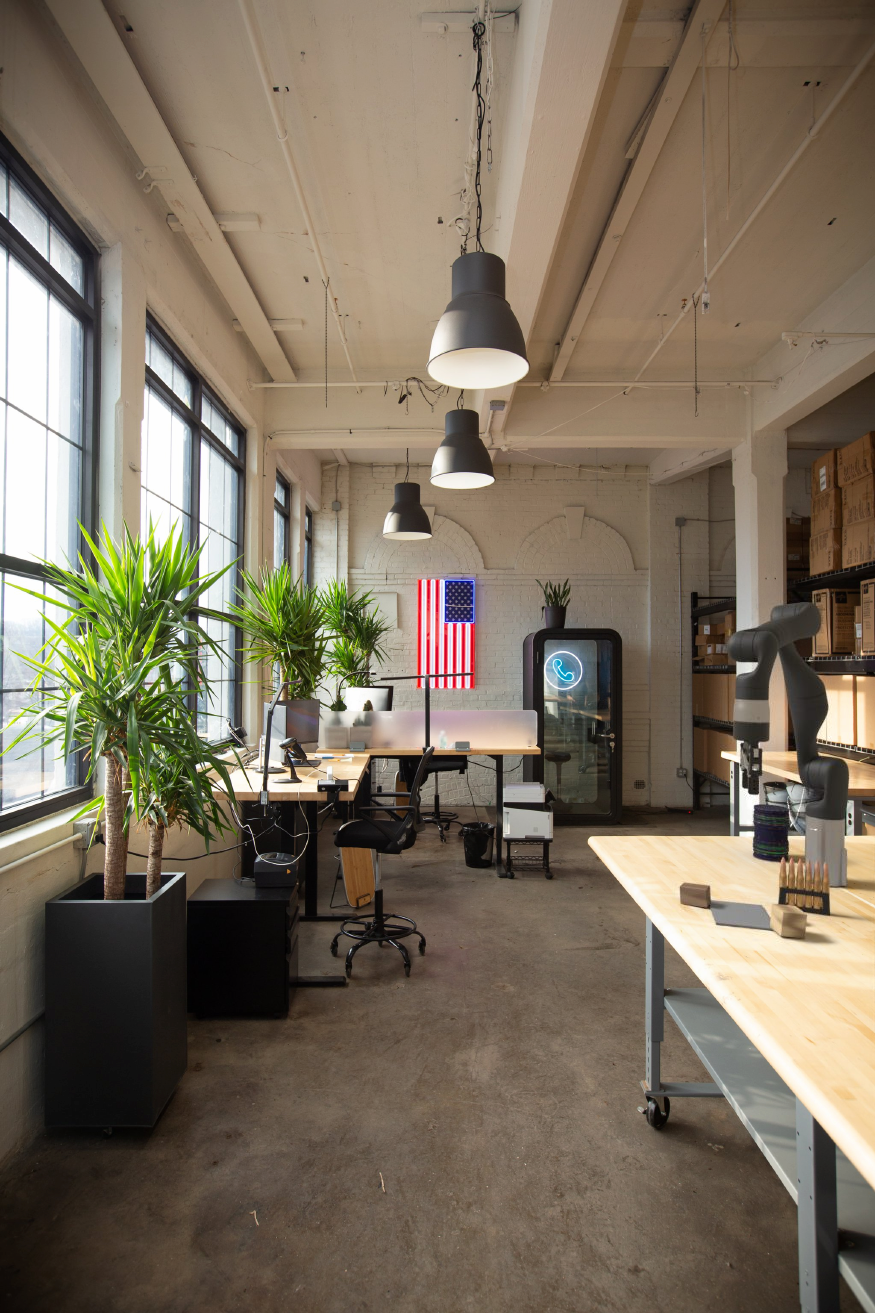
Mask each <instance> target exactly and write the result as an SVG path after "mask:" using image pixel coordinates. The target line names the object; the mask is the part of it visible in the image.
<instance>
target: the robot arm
mask: <svg viewBox="0 0 875 1313" xmlns="http://www.w3.org/2000/svg"><path fill="white" fill-rule="evenodd" d="M769 616H770V620H769V621H766V622H764V623H762V624H760V625H758V626H757V627H756V626H755V627H751V628H747V629H746V628H745V629H742V630H738V631H735V632H734V633H733V634H732V635H731V636H730V637H729V639H728V641H727V644H726V651H727V654H728V656H729V658H730V659H731V660H733V661H734V662H738V663H757V665H756V667H755V668H754V670H752V671H749V672H744V673H743V672H742V673H740V674H738V675H737V676H736V677H735V680H734V683H735V684H734V688H735V689H734V693H735V694H734V703H733V704H734V705H733V724H732V726H733V729H732V730H733V732H732V738H733V739H734V740H735V741H739V742H740V744H739V745H740V746H739V747H740V750H739V754H740V755H739V768H740V771H741V772H742V773H741V787H742V789H744V790H745V789H746V790H747V794H749V795H750V796H751V795H753V796H758V795H759V794H760V778H761V777H762V776H763V773H764V772H763V752H764V751H763V748H762V747H761V748H760V745H759V743H766V742H769V741H770V735H771V734H770V732H771V730H770V725H771V722H770V721H771V717H770V716H771V712H770V711H771V709H770V701H769V700H770V699H769V698H770V680H771V675H772V672H773V668H774V665H775V662H776V659H777V656H779V660H780V664H781V669H782V673H783V674H782V676H783V680H784V686H785V692H786V698H787V703H788V708H789V712H790V717H791V721H792V727H793V734H794V739H795V748H796V749H795V750H796V751H795V752H796V761H797V771H798V775H799V780H800V781H801V784H802V785H803V786H804V787H806V788H808V789H811V790H817V791H823V792H824V794H823V798H822V799H821V800H819V801H816V802H815V801H813V802H809V803H807V804H806V806H805V822H804V823H805V825H804V826H805V828H804V833H805V834H804V870H803V873H804V875H805V874H806V865H807V861H808V860H810V863H811V868H812V879H813V878H814V868H815V864H816V861H818V862H819V866H820V878H821V886H822V876H823V867H824V863H825V862H827V864H828V870H829V881H830V887H847V886H848V885H847V881H848V879H847V878H848V871H847V870H848V849H847V848H845V845H846V844H845V840H846V838H845V836H846V835H845V834H846V812H847V807H848V803H849V802H848V800H849V798H848V796H849V788H850V787H849V786H850V784H849V783H850V769H849V766H848V764H847V762H846V760H844V759H843V758H839V757H836V756H826V755H820V754H819V751H818V744H817V740H818V738H817V737H818V734H819V732H820V729H821V728H822V726H823V724H824V722H825V720H826V718H827V716H828V712H829V701H828V696H827V689H826V685H825V683H824V681H823V680H822V678H821V677H820V676H819V675H818V674H817V673H816V672H815V671H814V669H813V668H812V667H810V666H809V665H808V664H807V662H806V661H804V659H803V658H802V657H801V655H800V654H799V652H798V651H797V648H796V646H795V643H794V642H796V641H799V640H801V639H809V638H812V637H815V636H816V635H818V634H819V632H820V630H821V629H822V628H821V627H822V615H821V612H820V609H819V608H818V606H817V605H816V604H815V603H813V602H809V601H807V602H806V601H805V602H804V601H802V602H795V603H789V604H780V605H776V606H774V607H773V608H772V609H771V611H770V615H769Z"/></svg>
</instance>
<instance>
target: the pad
mask: <svg viewBox="0 0 875 1313" xmlns="http://www.w3.org/2000/svg"><path fill="white" fill-rule="evenodd" d="M708 907H709V910H710V912H711V915H712V917H713V920H714V924H715V925H719V926H728V927H734V928H735V927H736V928H744V929H745V928H746V929H755V930H762V931H773V932H774V930H773V929H772V928H771V927H770V919H771V917H770V915H768V913H767V911H766V910H765V908H764V907H763V905H762V904H756V903H745V902H734V901H725V900H724V901H723V900H714V899H711V903H710V904H709V905H708Z"/></svg>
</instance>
